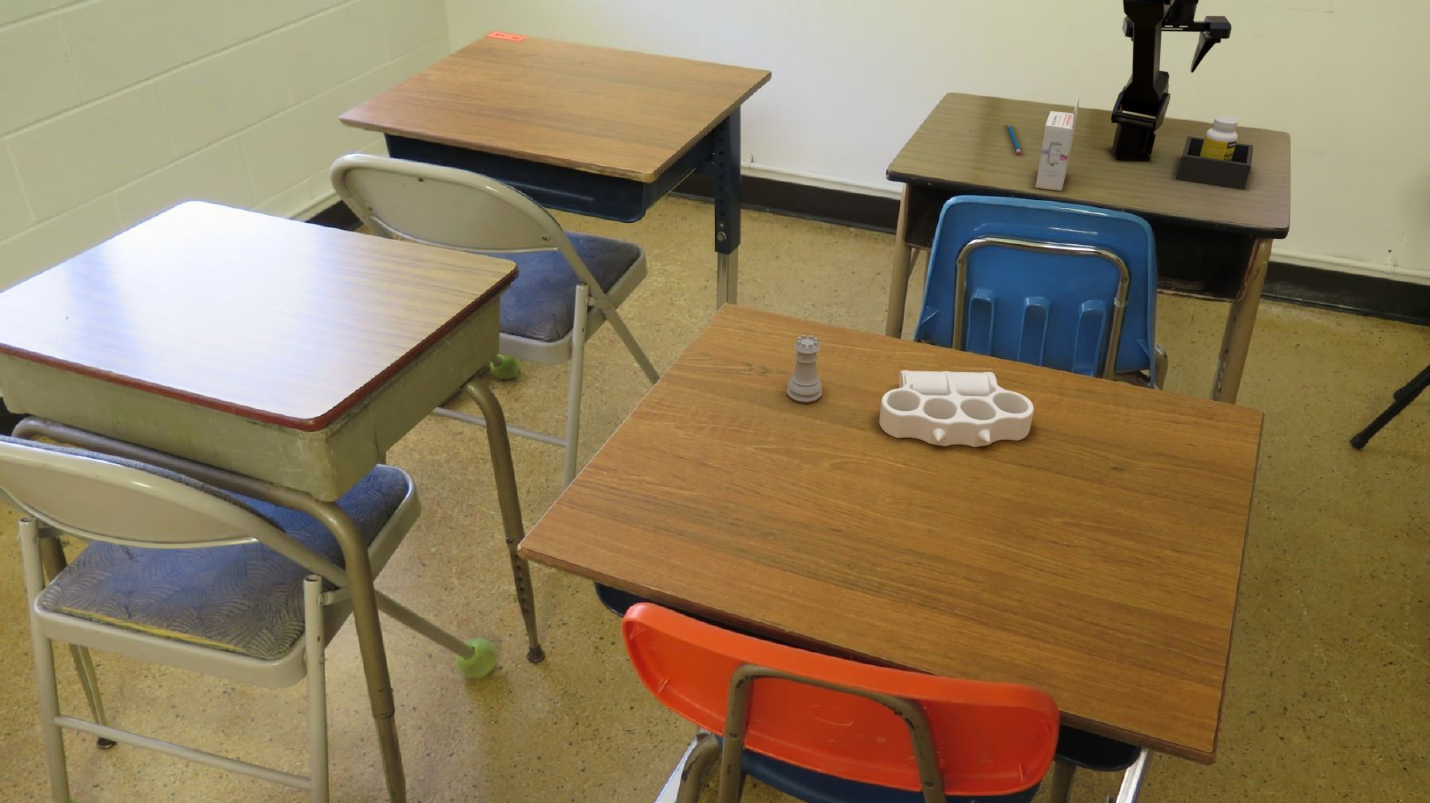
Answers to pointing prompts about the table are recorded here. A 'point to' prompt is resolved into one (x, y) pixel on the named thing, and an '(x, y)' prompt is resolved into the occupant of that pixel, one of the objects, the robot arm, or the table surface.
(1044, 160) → the ink cartridge box
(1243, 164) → the bin
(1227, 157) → the supplement bottle
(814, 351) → the rook chess piece
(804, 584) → the table surface
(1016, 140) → the pencil
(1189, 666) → the table surface
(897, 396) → the knuckle duster
